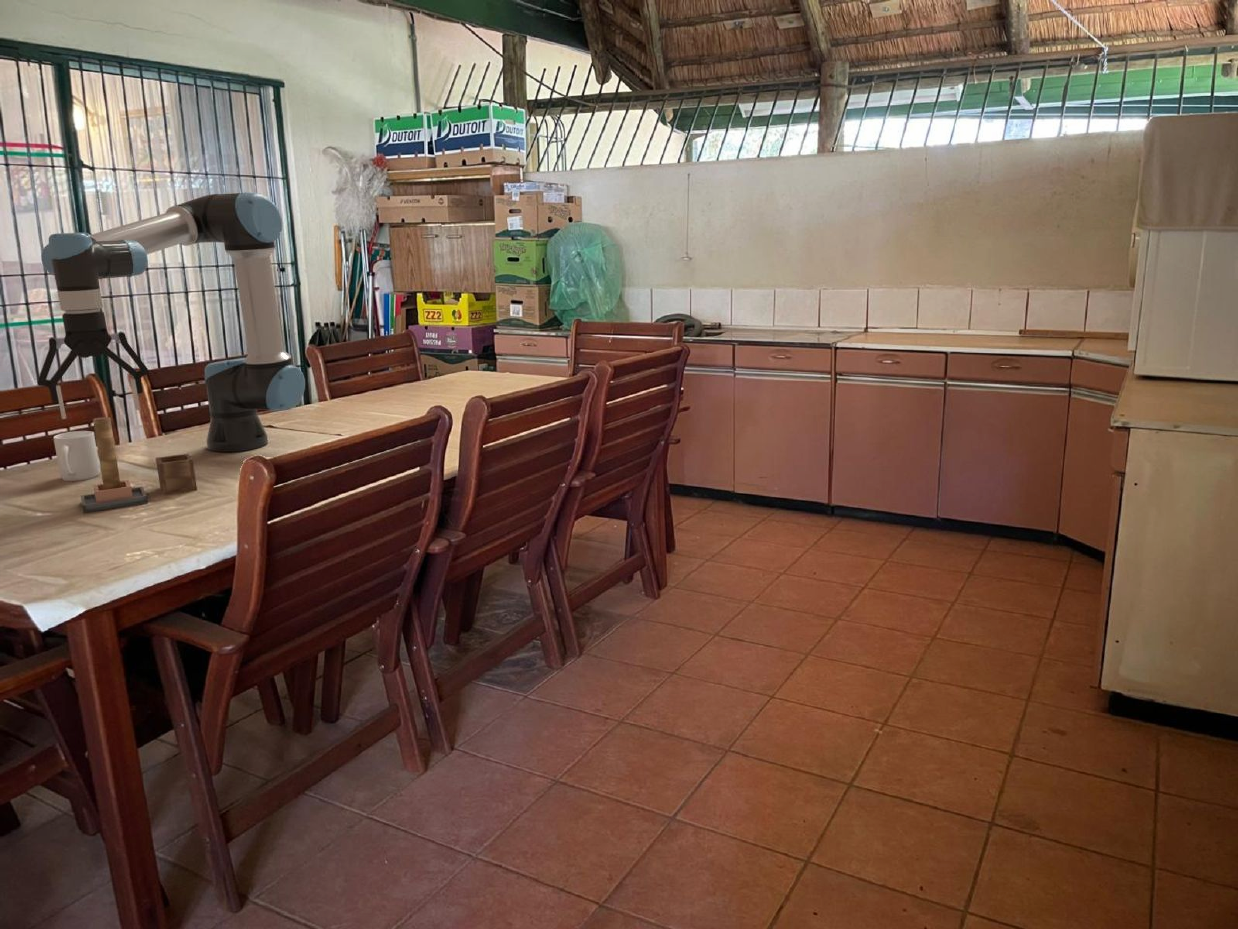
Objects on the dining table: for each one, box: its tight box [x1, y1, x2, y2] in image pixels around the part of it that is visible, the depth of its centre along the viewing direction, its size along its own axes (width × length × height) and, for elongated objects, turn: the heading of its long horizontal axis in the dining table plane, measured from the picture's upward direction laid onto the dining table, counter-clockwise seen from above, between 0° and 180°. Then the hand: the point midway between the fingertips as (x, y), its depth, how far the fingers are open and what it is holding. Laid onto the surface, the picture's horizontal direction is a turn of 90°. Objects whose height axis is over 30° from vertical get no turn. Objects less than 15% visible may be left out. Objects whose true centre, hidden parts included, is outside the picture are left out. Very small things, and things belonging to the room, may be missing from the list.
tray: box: [80, 486, 149, 514], centre depth 197 cm, size 12×9×2 cm
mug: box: [53, 430, 101, 482], centre depth 216 cm, size 12×8×10 cm
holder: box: [92, 479, 133, 503], centre depth 197 cm, size 7×7×3 cm
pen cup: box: [155, 453, 198, 495], centre depth 207 cm, size 7×7×7 cm
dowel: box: [92, 416, 121, 490], centre depth 195 cm, size 3×3×17 cm
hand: (101, 413), depth 193 cm, fingers open, 13 cm apart
